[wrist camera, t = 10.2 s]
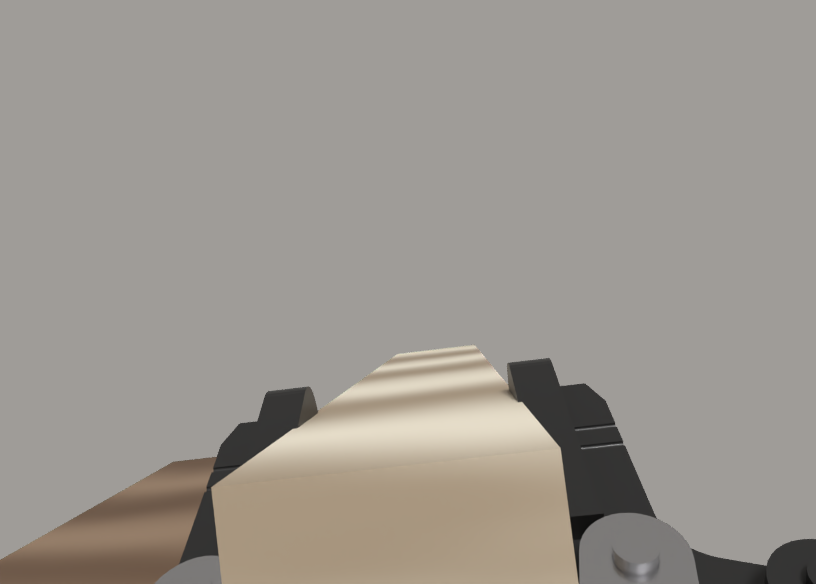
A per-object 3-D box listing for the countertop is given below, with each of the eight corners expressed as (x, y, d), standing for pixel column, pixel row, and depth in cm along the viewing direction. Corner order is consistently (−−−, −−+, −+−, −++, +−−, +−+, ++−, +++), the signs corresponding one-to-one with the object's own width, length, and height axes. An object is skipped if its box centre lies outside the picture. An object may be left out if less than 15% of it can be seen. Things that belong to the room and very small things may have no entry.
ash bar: (609, 815, 6) (560, 448, 7) (251, 844, 7) (211, 487, 7) (484, 422, 30) (474, 344, 31) (407, 431, 31) (397, 354, 31)
